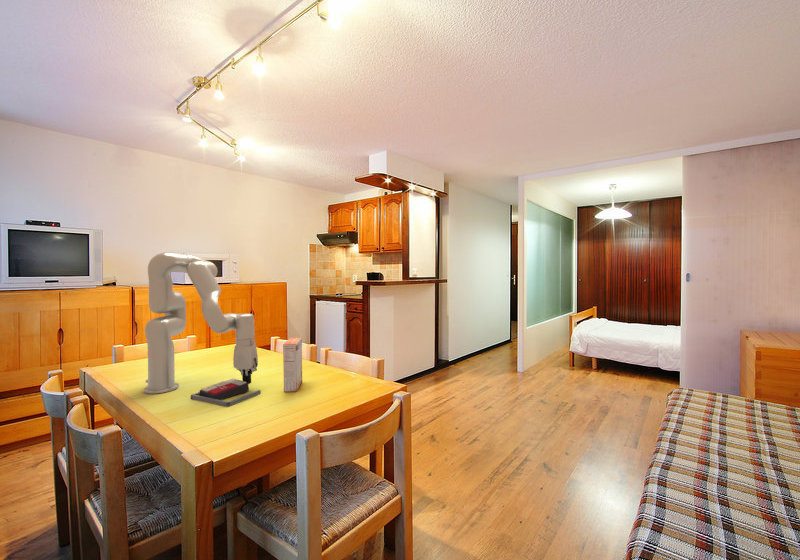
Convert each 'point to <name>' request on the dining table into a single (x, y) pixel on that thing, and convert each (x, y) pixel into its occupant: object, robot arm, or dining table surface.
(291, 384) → the cracker box
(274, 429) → the dining table surface
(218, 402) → the frame
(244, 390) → the black flat box
